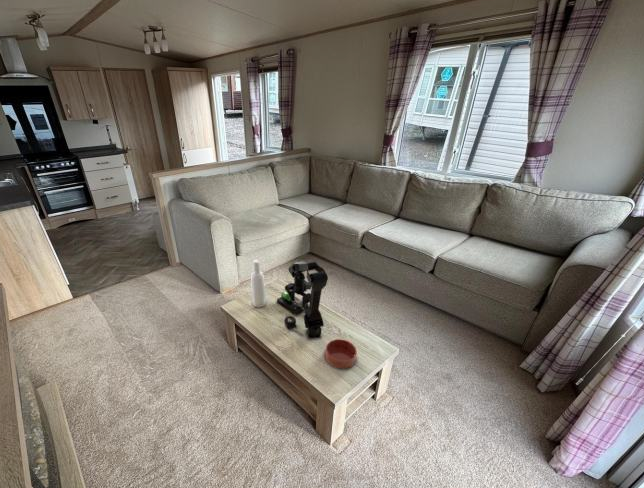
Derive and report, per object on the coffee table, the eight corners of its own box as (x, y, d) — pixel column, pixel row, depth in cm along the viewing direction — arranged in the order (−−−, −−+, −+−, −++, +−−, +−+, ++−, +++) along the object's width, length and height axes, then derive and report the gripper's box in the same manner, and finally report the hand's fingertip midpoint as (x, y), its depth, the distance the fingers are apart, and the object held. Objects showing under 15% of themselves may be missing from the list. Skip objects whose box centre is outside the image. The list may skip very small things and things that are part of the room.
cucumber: (290, 303, 179) (290, 299, 177) (280, 297, 185) (279, 292, 183) (294, 300, 180) (294, 296, 178) (284, 294, 186) (284, 289, 184)
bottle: (251, 307, 181) (247, 264, 165) (254, 299, 188) (250, 257, 172) (264, 308, 180) (261, 265, 164) (266, 300, 186) (264, 258, 171)
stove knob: (303, 306, 176) (303, 300, 173) (298, 309, 174) (298, 303, 171) (299, 303, 178) (299, 297, 176) (294, 306, 176) (294, 300, 174)
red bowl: (329, 370, 139) (329, 362, 136) (322, 347, 151) (323, 340, 148) (359, 367, 139) (360, 360, 137) (350, 345, 151) (351, 338, 149)
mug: (281, 326, 165) (281, 316, 161) (289, 321, 169) (289, 311, 165) (297, 337, 157) (297, 327, 153) (305, 332, 161) (306, 321, 157)
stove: (309, 309, 177) (309, 305, 176) (297, 316, 172) (297, 312, 171) (289, 295, 189) (288, 292, 188) (277, 302, 184) (276, 298, 183)
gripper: (321, 283, 165) (320, 305, 173) (297, 270, 178) (297, 292, 186) (307, 291, 159) (306, 314, 167) (283, 277, 172) (284, 299, 180)
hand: (299, 304), depth 175 cm, fingers open, 9 cm apart
